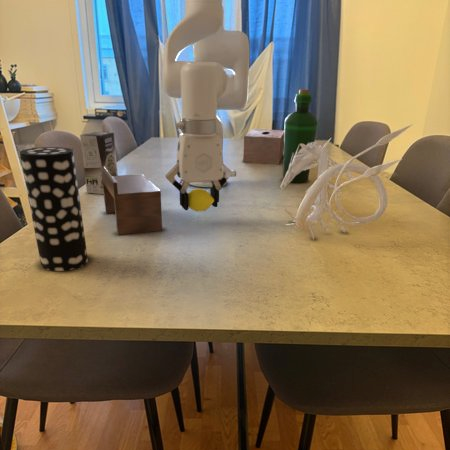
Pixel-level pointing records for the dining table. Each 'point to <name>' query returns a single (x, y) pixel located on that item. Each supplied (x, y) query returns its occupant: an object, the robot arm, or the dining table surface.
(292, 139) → the bottle
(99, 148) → the coffee box
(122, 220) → the shelf
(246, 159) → the tissue box cover
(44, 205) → the spotted tube
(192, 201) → the lemon
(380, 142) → the serpentine dragon sculpture
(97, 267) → the dining table surface
